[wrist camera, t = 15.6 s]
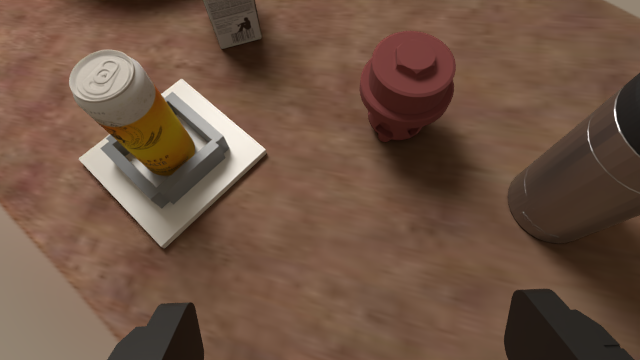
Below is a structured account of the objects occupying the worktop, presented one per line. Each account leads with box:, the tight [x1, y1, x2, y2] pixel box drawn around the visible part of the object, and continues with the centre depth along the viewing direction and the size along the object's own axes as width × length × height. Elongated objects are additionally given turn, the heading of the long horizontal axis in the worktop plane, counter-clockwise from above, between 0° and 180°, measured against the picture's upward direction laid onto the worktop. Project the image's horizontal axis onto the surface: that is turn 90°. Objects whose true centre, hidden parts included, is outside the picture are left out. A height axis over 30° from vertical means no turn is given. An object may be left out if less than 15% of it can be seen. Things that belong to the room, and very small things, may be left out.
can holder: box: [79, 79, 267, 249], centre depth 43 cm, size 16×16×4 cm
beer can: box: [69, 50, 195, 176], centre depth 37 cm, size 6×6×15 cm
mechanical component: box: [360, 31, 456, 142], centre depth 41 cm, size 12×10×10 cm
